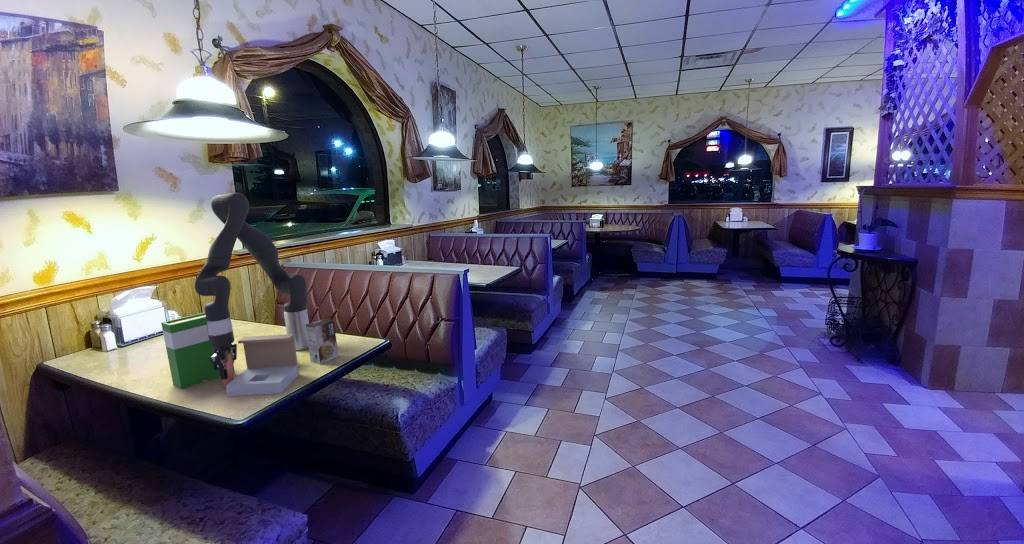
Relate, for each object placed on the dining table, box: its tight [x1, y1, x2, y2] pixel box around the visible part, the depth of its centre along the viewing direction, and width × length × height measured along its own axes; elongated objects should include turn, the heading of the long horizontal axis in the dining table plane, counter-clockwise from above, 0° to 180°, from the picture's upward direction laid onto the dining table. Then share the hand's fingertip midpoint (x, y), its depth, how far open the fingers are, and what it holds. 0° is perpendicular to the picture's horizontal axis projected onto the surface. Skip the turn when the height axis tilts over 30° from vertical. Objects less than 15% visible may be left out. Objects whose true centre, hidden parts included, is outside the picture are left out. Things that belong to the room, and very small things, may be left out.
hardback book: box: [160, 312, 220, 390], centre depth 173 cm, size 18×7×24 cm, turn 145°
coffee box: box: [306, 318, 339, 365], centre depth 188 cm, size 9×6×16 cm
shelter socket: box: [225, 333, 300, 397], centre depth 166 cm, size 16×18×16 cm
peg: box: [220, 353, 236, 389], centre depth 166 cm, size 4×4×12 cm
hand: (227, 376), depth 167 cm, fingers closed on peg, 4 cm apart
